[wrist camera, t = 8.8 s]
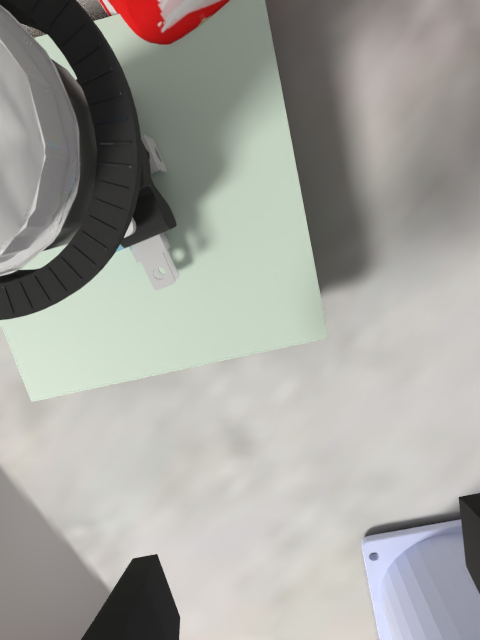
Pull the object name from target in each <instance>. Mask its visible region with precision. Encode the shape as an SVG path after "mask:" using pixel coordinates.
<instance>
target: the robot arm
mask: <svg viewBox="0 0 480 640" xmlns="http://www.w3.org/2000/svg"><path fill="white" fill-rule="evenodd" d="M459 504H460V514H461V519H460V520H454V521H449V522H443V523H437V524H432V525H426V526H421V527H415V528H409V529H404V530H398V531H393V532H387V533H381V534H376V535H370V536H367V537H365V538H364V539H363V540H362V542H361V548H362V553H363V558H364V563H365V568H366V573H367V579H368V584H369V589H370V594H371V599H372V605H373V610H374V615H375V620H376V625H377V630H378V636H379V640H480V493H478V494H473V495H467V496H462V497H459ZM373 552H376V553H375V554H373V555H372V554H371V553H373ZM179 628H180V616H179V613H178V610H177V607H176V605H175V602H174V599H173V596H172V594H171V591H170V588H169V585H168V583H167V580H166V577H165V574H164V572H163V569H162V566H161V563H160V561H159V558H158V555H157V554H155V555H150V556H144V557H139V558H134V559H132V561H131V562H130V564H129V565H128V567H127V568H126V570H125V572H124V573H123V575H122V576H121V578H120V579H119V581H118V583H117V584H116V586H115V587H114V589H113V591H112V592H111V594H110V595H109V597H108V599H107V600H106V602H105V603H104V605H103V607H102V608H101V610H100V611H99V613H98V614H97V616H96V618H95V619H94V621H93V622H92V624H91V625H90V627H89V629H88V630H87V631H86V633H85V634H84V636H83V637H82V639H81V640H179Z"/></svg>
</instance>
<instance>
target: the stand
mask: <svg viewBox="0 0 480 640" xmlns="http://www.w3.org/2000/svg"><path fill="white" fill-rule="evenodd" d="M94 23H95V24H96V25H97V26H98V28H99V29H100V30H101V32H102V34H103V35H104V37H105V38H106V40H107V42H108V43H109V45H110V46H111V48H112V50H113V52H114V53H115V55H116V57H117V59H118V61H119V63H120V65H121V67H122V69H123V72H124V74H125V77H126V79H127V82H128V85H129V87H130V90H131V93H132V97H133V100H134V103H135V107H136V111H137V116H138V121H139V127H140V133H141V136H142V135H146V136H148V137H150V138H152V139H153V140H154V141H155V143H156V145H157V147H158V150H159V152H160V154H161V157H162V159H163V161H164V164H165V166H166V169H167V172H161V171H156V172H154V173H152V174H151V178H152V181H153V183H154V185H155V187H156V189H157V190H158V191H159V193H160V194H161V195H162V196H163V198H164V199H165V200H166V202H167V203H168V205H169V206H170V208H171V211H172V213H173V215H174V218H175V220H176V224H177V226H176V227H174V228H172V229H170V230H168V231H165V233H166V236H167V238H168V240H169V242H170V245H171V248H169V249H168V250H169V253H170V255H171V257H172V259H173V262H174V264H175V266H176V268H177V271H178V273H179V278H178V279H176V280H175V283H174V284H172V285H170V286H167V287H165V288H162V289H160V290H154V289H153V286H152V284H151V282H150V280H149V278H148V276H147V274H146V271H145V269H144V267H143V265H142V263H141V262H138V263H136V261H135V258H134V256H133V254H132V252H131V250H130V248H129V247H127V248H125V249H122V250H120V251H118V252H115V254H114V255H113V256H112V258H111V259H110V260H109V262H108V263H107V264H106V265H105V267H104V268H103V269H102V270H101V271H100V272H99V273H98V274H97V275H96V276H95V277H94V278H93V279H92V280H91V281H90V282H88V283H87V284H86V285H85V286H83V287H82V288H81V289H80V290H78V291H77V292H75V293H73V294H72V295H70V296H69V297H67V298H65V299H64V300H62V301H60V302H58V303H57V304H54V305H52V306H50V307H48V308H46V309H44V310H41V311H38V312H36V313H33V314H30V315H27V316H22V317H18V318H13V319H7V320H0V325H1V327H2V330H3V332H4V335H5V337H6V340H7V342H8V345H9V347H10V349H11V352H12V354H13V357H14V359H15V362H16V364H17V367H18V369H19V372H20V374H21V377H22V379H23V382H24V384H25V387H26V389H27V392H28V394H29V397H30V399H31V402H33V401H38V400H43V399H47V398H52V397H57V396H61V395H66V394H71V393H75V392H80V391H85V390H89V389H94V388H99V387H103V386H108V385H112V384H117V383H122V382H126V381H131V380H136V379H140V378H145V377H150V376H154V375H159V374H164V373H168V372H173V371H178V370H182V369H187V368H192V367H196V366H201V365H206V364H210V363H215V362H220V361H224V360H229V359H234V358H238V357H243V356H248V355H252V354H257V353H262V352H266V351H271V350H275V349H280V348H285V347H289V346H294V345H299V344H303V343H308V342H313V341H317V340H322V339H327V338H328V332H327V327H326V322H325V316H324V311H323V306H322V300H321V295H320V290H319V284H318V279H317V274H316V269H315V263H314V258H313V253H312V247H311V242H310V237H309V231H308V226H307V221H306V215H305V210H304V205H303V199H302V194H301V189H300V183H299V178H298V173H297V167H296V162H295V157H294V152H293V146H292V141H291V136H290V130H289V125H288V120H287V114H286V109H285V104H284V98H283V93H282V88H281V82H280V77H279V72H278V66H277V61H276V56H275V50H274V45H273V40H272V34H271V29H270V24H269V19H268V13H267V8H266V3H265V0H230V1H229V2H228V3H226V4H225V5H224V6H223V7H222V8H221V9H220V10H218V11H217V12H216V13H215V14H214V15H213V16H211V17H210V18H209V19H208V20H206V21H205V22H204V23H202V24H201V25H200V26H198V27H197V28H196V29H194V30H193V31H191V32H190V33H188V34H187V35H185V36H184V37H182V38H181V39H179V40H177V41H175V42H173V43H171V44H169V45H159V44H155V43H149V42H147V41H145V40H143V39H142V38H140V37H139V36H138V35H136V34H135V33H134V32H133V31H132V30H131V28H130V27H129V26H128V25H127V23H126V22H125V21H124V20H123V18H122V17H121V15H120V14H117V15H113V16H110V17H106V18H103V19H99V20H96V21H94ZM34 39H35V40H36V41H37V42H38V43H39V44H40V45H41V46H42V47H43V48H44V49H45V50H46V52H47V53H48V55H49V57H50V58H51V59H52V60H54V61H55V62H57V63H58V64H60V65H61V66H63V67H64V68H65V69H67V70H68V71H69V72H70V74H71V75H72V76H73V78H74V79H75V80H76V79H77V77H76V75H75V73H74V71H73V70H72V68H71V66H70V65H69V63H68V61H67V60H66V58H65V56H64V55H63V53H62V52H61V51H60V50H59V48H58V47H57V46H56V44H55V43H54V42H53V40H52V39H51V38H50V37H49V36H48V35H47V34H46V35H43V36H39V37H36V38H34ZM67 245H68V244H67ZM67 245H63V246H60V247H56V248H53V249H49V250H45V251H42V252H41V253H39V254H38V255H37V256H36V257H35V258H34V259H32V260H31V261H30V262H29V263H28V264H26V265H25V266H24V267H23V268H21V269H19V270H32V269H40V268H42V267H43V266H45V265H46V264H48V263H49V262H50V261H51V260H53V259H54V258H55V257H56V256H57V255H59V253H60V252H61V251H62V250H63V249H64V248H65V247H66V246H67ZM159 271H160V272H161V273H162V274H165V271H164V269H163V268H161V267H159ZM153 273H154V272H153ZM154 276H155V274H154ZM155 277H156V276H155Z"/></svg>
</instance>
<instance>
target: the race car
mask: <svg viewBox="0 0 480 640" xmlns="http://www.w3.org/2000/svg"><path fill="white" fill-rule="evenodd" d="M98 1H99V3H100V4H101V6H102V7H103V9H104V10H105V12H106V13H107V15H108V16H109V17H110V16H113V15H117V14H120V15H121V17H122V18H123V20H124V21H125V22H126V23H127V25H128V26H129V27H130V28H131V30H132V31H133V32H134V33H135V34H136V35H138V36H139V37H140V38H142V39H143V40H145V41H147V42H149V43H155V44H159V45H169V44H171V43H173V42H175V41H177V40H179V39H181V38H182V37H184V36H185V35H187V34H188V33H190V32H191V31H193V30H194V29H196V28H197V27H198V26H200V25H201V24H202V23H204V22H205V21H206V20H208V19H209V18H210V17H211V16H213V15H214V14H215V13H216V12H217V11H218V10H220V9H221V8H222V7H223V6H224V5H225V4H226V3H228V2H229V1H230V0H98Z"/></svg>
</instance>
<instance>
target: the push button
mask: <svg viewBox="0 0 480 640" xmlns="http://www.w3.org/2000/svg"><path fill="white" fill-rule="evenodd" d="M20 23H21V24H24V25H27V26H30V27H32V28H35V29H38V30H40V31H42V32H44V33H46V34H47V35H48V36H49V37H50V38H51V39H52V40H53V42H54V43H55V44H56V46H57V47H58V48H59V50H60V51H61V52H62V53H63V55H64V56H65V58H66V60H67V61H68V63H69V65H70V66H71V68H72V70H73V71H74V73H75V75H76V77H77V79H76V80H75V79H74V78H73V76H72V75H71V74H70V72H69V71H68V70H67V69H65V68H64V67H63V66H61V65H60V64H58V63H57V62H55V61H54V60H52V59H51V58H50V57H49V55H48V53H47V52H46V50H45V49H44V48H43V47H42V46H41V45H40V44H39V43H38V42H37V41H36V40H35V39H34V38H33V37H32V35H31V34H30V33H29V32H28V31H27V30H26V29H25V28H24V27H23V26H22V25H21V24H20ZM156 171H161V172H167V169H166V166H165V164H164V161H163V159H162V157H161V154H160V152H159V150H158V147H157V145H156V143H155V141H154V140H153V139H152V138H150V137H148V136H146V135H142V136H141V133H140V127H139V121H138V116H137V111H136V107H135V103H134V100H133V97H132V93H131V90H130V87H129V85H128V82H127V79H126V77H125V74H124V72H123V69H122V67H121V65H120V63H119V61H118V59H117V57H116V55H115V53H114V52H113V50H112V48H111V46H110V45H109V43H108V42H107V40H106V38H105V37H104V35H103V34H102V32H101V30H100V29H99V28H98V26H97V25H96V24H95V23H94V21H93V20H92V19H91V17H90V16H89V15H88V14H87V12H86V11H85V10H84V9H83V8H82V7H81V5H80V4H79V3H78V2H77V1H76V0H0V320H7V319H13V318H18V317H22V316H27V315H30V314H33V313H36V312H38V311H41V310H44V309H46V308H48V307H50V306H52V305H54V304H57V303H58V302H60V301H62V300H64V299H65V298H67V297H69V296H70V295H72V294H73V293H75V292H77V291H78V290H80V289H81V288H82V287H83V286H85V285H86V284H87V283H88V282H90V281H91V280H92V279H93V278H94V277H95V276H96V275H97V274H98V273H99V272H100V271H101V270H102V269H103V268H104V267H105V265H106V264H107V263H108V262H109V260H110V259H111V258H112V256H113V255H114V254H115V252H118V251H120V250H122V249H125V248H127V247H129V248H130V250H131V252H132V254H133V256H134V258H135V261H136V263H138V262H141V263H142V265H143V267H144V269H145V271H146V274H147V276H148V278H149V280H150V282H151V284H152V286H153V289H154V290H160V289H162V288H165V287H167V286H170V285H172V284H174V283H175V280H176V279H178V278H179V273H178V271H177V268H176V266H175V264H174V262H173V259H172V257H171V255H170V253H169V250H168V249H169V248H171V245H170V242H169V240H168V238H167V236H166V233H165V231H168V230H170V229H172V228H174V227H176V226H177V224H176V220H175V218H174V215H173V213H172V211H171V208H170V206H169V205H168V203H167V202H166V200H165V199H164V198H163V196H162V195H161V194H160V193H159V191H158V190H157V189H156V187H155V185H154V183H153V181H152V178H151V174H152V173H154V172H156ZM67 244H68V245H67ZM63 245H67V246H66V247H65V248H64V249H63V250H62V251H61V252H60V253H59V255H57V256H56V257H55V258H54V259H53V260H51V261H50V262H49V263H48V264H46V265H45V266H43V267H42V268H40V269H32V270H19V269H21V268H23V267H24V266H25V265H26V264H28V263H29V262H30V261H31V260H32V259H34V258H35V257H36V256H37V255H38V254H39V253H41V252H42V251H45V250H49V249H53V248H56V247H60V246H63ZM159 267H161V268H163V269H164V271H165V274H162V273H161V272H160V271H159ZM153 272H154V273H153ZM154 274H155V276H156V277H155V276H154Z"/></svg>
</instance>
